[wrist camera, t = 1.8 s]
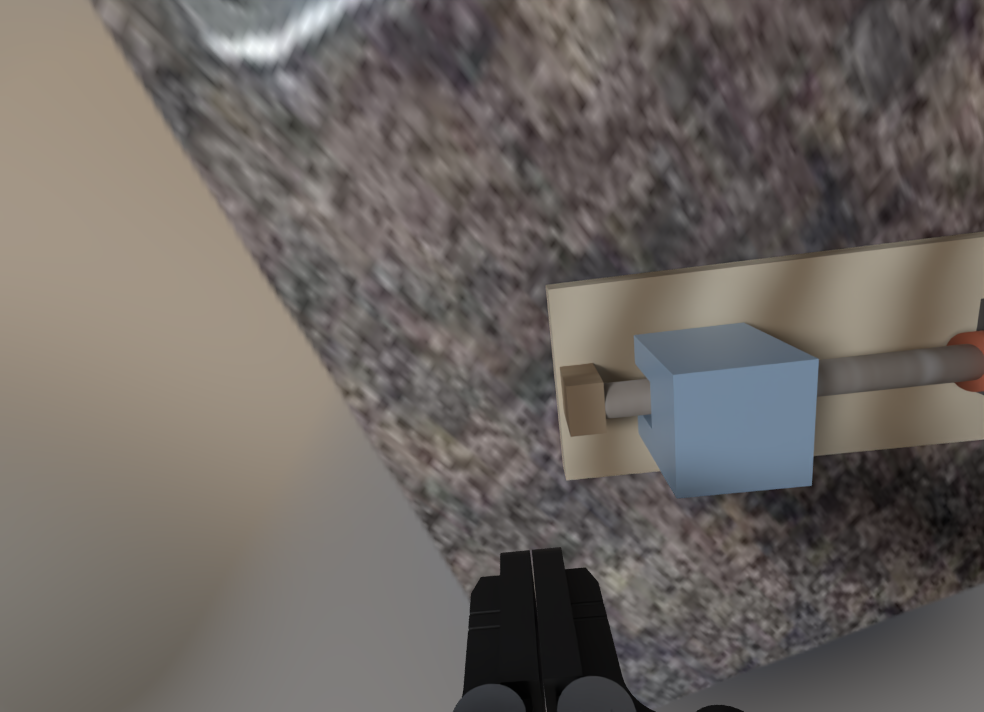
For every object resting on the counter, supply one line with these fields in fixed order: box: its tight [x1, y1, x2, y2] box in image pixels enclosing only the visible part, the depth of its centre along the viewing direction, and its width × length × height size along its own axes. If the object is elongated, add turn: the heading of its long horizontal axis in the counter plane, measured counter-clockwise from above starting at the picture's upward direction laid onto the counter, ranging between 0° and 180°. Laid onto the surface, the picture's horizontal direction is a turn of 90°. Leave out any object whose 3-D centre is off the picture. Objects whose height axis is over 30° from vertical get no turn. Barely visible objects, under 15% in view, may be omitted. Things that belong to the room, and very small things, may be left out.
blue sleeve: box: [634, 322, 819, 498], centre depth 21 cm, size 5×5×6 cm
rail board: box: [546, 232, 984, 480], centre depth 22 cm, size 22×10×7 cm, turn 97°
